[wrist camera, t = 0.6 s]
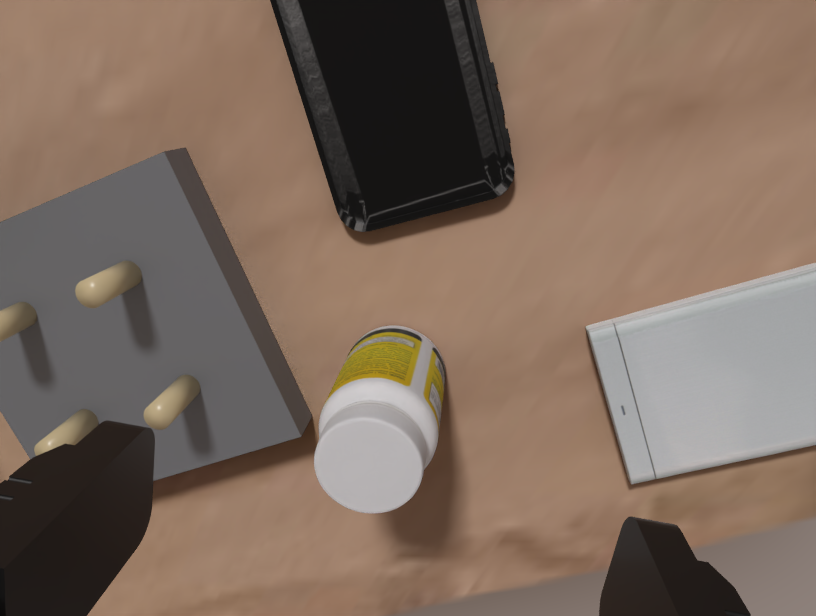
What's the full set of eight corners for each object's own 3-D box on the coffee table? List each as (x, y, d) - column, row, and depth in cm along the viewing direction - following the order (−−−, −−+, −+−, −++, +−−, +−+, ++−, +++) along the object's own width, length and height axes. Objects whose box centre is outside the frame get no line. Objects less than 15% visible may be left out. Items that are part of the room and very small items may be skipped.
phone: (345, 237, 28) (223, -145, 24) (350, 232, 29) (235, -135, 25) (522, 190, 26) (427, -227, 22) (521, 186, 28) (429, -213, 23)
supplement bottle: (328, 368, 31) (275, 464, 23) (392, 303, 30) (360, 381, 22) (400, 431, 32) (373, 545, 24) (467, 370, 30) (461, 470, 22)
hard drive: (900, 249, 25) (588, 334, 28) (923, 426, 27) (632, 490, 30) (876, 240, 27) (583, 321, 29) (899, 408, 29) (625, 470, 32)
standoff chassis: (185, 147, 28) (125, 158, 24) (312, 416, 32) (282, 472, 27) (-58, 251, 31) (-154, 280, 27) (83, 486, 35) (21, 547, 30)
